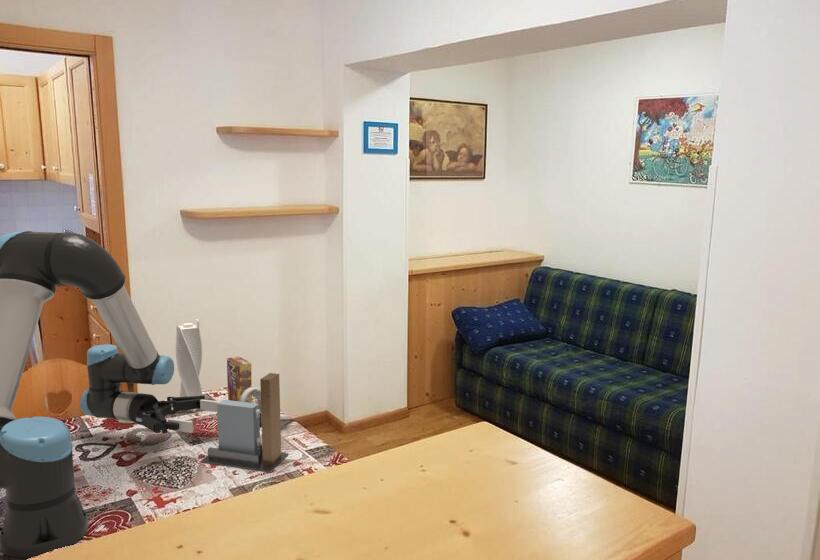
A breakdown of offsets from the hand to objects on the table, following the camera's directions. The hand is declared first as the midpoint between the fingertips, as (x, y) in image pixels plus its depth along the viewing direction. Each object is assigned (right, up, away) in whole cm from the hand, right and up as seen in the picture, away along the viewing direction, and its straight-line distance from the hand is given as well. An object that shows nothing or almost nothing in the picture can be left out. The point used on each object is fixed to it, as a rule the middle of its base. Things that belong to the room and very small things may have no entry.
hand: (208, 416), depth 163 cm
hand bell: (-30, -6, +24) cm, 39 cm away
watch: (+7, -7, +20) cm, 23 cm away
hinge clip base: (+10, -10, -1) cm, 14 cm away
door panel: (+8, -10, -1) cm, 13 cm away
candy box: (0, -5, +32) cm, 33 cm away
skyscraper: (-15, -4, +32) cm, 36 cm away
